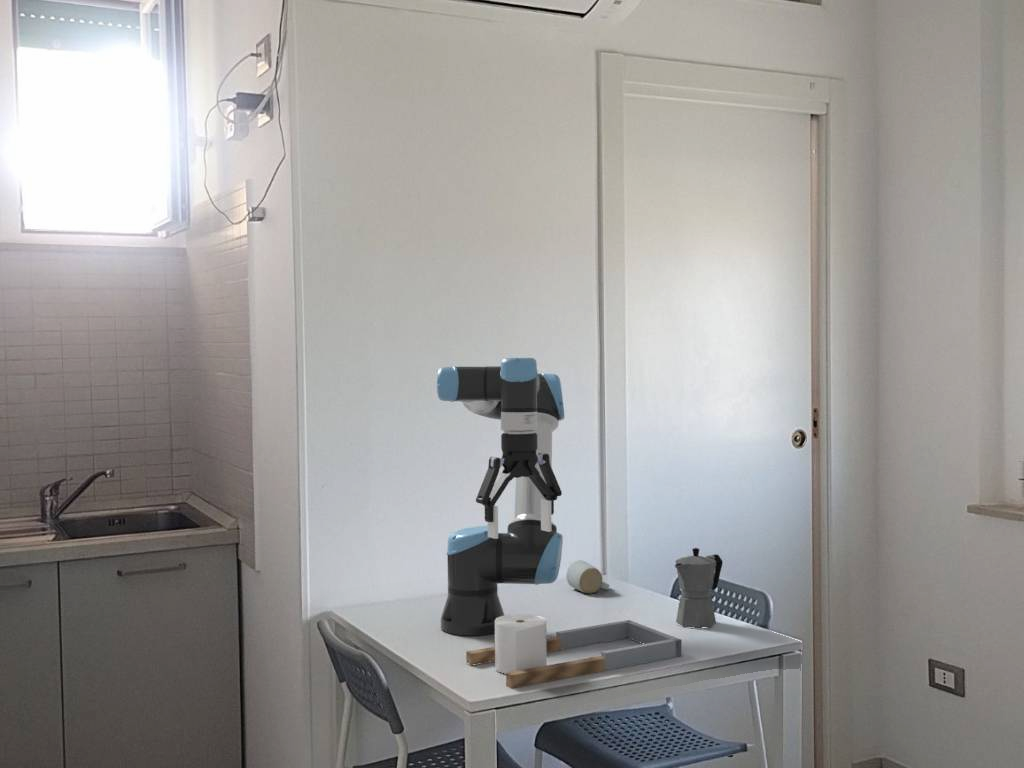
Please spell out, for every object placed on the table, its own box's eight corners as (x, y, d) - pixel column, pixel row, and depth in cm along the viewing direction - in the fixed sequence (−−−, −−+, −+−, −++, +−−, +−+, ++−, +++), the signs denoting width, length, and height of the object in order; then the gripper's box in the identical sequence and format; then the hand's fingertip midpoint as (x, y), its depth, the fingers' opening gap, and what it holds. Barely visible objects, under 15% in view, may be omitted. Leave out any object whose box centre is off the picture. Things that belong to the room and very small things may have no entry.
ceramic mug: (580, 596, 290) (580, 566, 289) (565, 589, 297) (565, 561, 297) (615, 592, 294) (615, 563, 294) (600, 586, 302) (600, 558, 301)
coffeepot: (691, 632, 253) (690, 554, 252) (661, 624, 261) (661, 548, 260) (736, 621, 263) (736, 546, 262) (706, 614, 270) (706, 540, 269)
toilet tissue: (530, 658, 235) (530, 611, 234) (559, 673, 224) (559, 624, 224) (485, 665, 230) (485, 617, 229) (513, 681, 219) (513, 631, 219)
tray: (605, 670, 225) (605, 653, 225) (556, 647, 242) (555, 632, 242) (681, 656, 235) (681, 639, 235) (629, 635, 252) (629, 620, 251)
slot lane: (511, 688, 215) (511, 675, 214) (466, 663, 231) (466, 651, 231) (605, 670, 225) (605, 658, 225) (556, 647, 242) (556, 636, 242)
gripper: (479, 436, 219) (480, 543, 220) (577, 430, 233) (578, 530, 234) (458, 434, 225) (459, 538, 226) (556, 428, 239) (556, 525, 240)
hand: (520, 534), depth 230 cm, fingers open, 13 cm apart
